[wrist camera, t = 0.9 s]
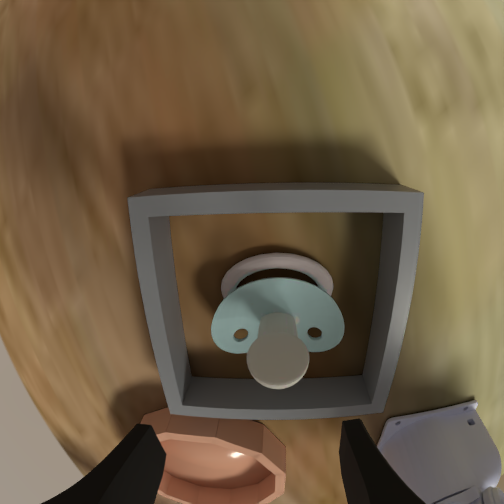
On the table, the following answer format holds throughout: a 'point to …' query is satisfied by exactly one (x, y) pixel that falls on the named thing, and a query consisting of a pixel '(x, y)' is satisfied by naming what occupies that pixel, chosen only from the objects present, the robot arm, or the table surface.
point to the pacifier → (277, 317)
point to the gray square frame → (276, 201)
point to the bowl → (218, 459)
